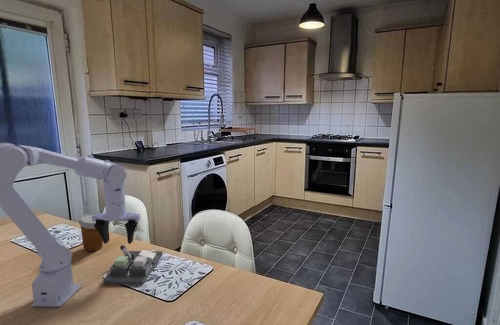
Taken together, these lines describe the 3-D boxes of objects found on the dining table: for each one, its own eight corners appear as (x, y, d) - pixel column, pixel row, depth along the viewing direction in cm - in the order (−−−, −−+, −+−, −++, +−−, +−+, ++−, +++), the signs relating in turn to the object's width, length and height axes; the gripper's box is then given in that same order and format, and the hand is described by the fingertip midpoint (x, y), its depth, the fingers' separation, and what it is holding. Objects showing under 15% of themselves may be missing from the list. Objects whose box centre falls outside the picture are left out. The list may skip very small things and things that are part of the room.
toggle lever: (131, 258, 97) (122, 245, 96) (127, 260, 97) (118, 247, 96) (133, 256, 99) (124, 243, 98) (129, 258, 99) (120, 245, 98)
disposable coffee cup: (86, 256, 103) (87, 226, 100) (73, 245, 108) (74, 216, 105) (112, 247, 111) (113, 219, 108) (98, 237, 116) (99, 210, 113)
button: (124, 267, 90) (123, 261, 90) (114, 266, 90) (114, 261, 90) (128, 262, 93) (128, 256, 93) (119, 262, 93) (118, 256, 93)
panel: (143, 284, 86) (143, 274, 86) (103, 284, 86) (102, 274, 86) (162, 255, 104) (162, 246, 103) (129, 254, 104) (128, 246, 104)
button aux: (143, 267, 90) (142, 261, 90) (133, 267, 90) (133, 261, 90) (146, 262, 93) (146, 256, 93) (137, 262, 93) (137, 256, 93)
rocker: (152, 260, 96) (152, 258, 96) (138, 257, 96) (138, 254, 96) (155, 255, 99) (156, 253, 99) (142, 251, 99) (142, 249, 99)
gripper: (143, 197, 94) (145, 236, 96) (98, 197, 94) (102, 236, 96) (134, 204, 87) (137, 246, 89) (86, 204, 87) (90, 246, 89)
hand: (118, 242), depth 92 cm, fingers open, 7 cm apart
